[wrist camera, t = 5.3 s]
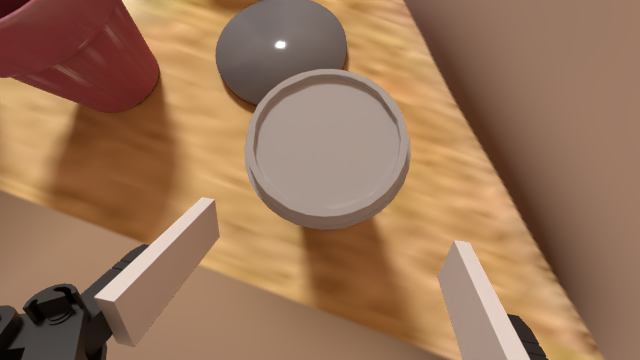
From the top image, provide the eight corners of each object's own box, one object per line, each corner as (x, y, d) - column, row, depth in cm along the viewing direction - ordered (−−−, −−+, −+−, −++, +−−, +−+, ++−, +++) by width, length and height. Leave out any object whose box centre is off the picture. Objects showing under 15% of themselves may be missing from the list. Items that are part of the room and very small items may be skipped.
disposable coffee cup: (260, 195, 25) (200, 144, 14) (325, 129, 27) (319, 35, 15) (333, 263, 23) (333, 271, 12) (398, 187, 25) (455, 127, 13)
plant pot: (36, 105, 30) (-172, -2, 17) (113, 18, 33) (-16, -122, 21) (131, 154, 27) (-34, 69, 15) (203, 55, 31) (117, -80, 18)
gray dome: (194, 75, 30) (189, 69, 29) (264, -11, 33) (262, -19, 32) (304, 130, 27) (303, 126, 26) (368, 30, 30) (369, 23, 29)
